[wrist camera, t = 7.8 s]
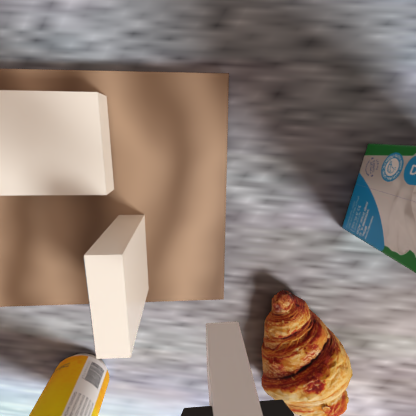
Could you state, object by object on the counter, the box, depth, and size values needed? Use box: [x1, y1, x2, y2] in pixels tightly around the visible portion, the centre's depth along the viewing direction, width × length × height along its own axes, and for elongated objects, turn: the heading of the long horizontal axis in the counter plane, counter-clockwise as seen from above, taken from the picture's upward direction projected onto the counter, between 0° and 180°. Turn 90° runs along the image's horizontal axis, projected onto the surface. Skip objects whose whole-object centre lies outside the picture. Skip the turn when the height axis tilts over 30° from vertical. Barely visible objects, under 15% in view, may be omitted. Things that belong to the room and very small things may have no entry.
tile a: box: [0, 90, 114, 196], centre depth 23 cm, size 3×8×9 cm
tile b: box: [84, 215, 149, 359], centre depth 23 cm, size 3×8×9 cm, turn 0°
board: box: [0, 69, 229, 307], centre depth 26 cm, size 26×22×2 cm
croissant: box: [262, 290, 352, 416], centre depth 31 cm, size 21×10×8 cm, turn 21°
